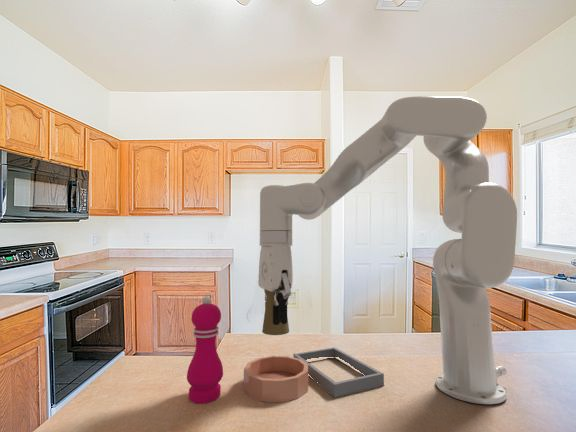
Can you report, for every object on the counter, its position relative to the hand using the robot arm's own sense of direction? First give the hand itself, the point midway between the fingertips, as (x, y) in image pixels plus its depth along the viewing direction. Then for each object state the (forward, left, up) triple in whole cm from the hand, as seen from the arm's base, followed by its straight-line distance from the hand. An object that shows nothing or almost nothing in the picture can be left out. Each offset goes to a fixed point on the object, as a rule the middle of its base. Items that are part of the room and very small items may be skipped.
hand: (275, 320), depth 67 cm
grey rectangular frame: (-15, 0, -14) cm, 20 cm away
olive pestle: (0, 0, -3) cm, 2 cm away
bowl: (0, 0, -14) cm, 14 cm away
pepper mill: (+15, -2, -14) cm, 21 cm away
